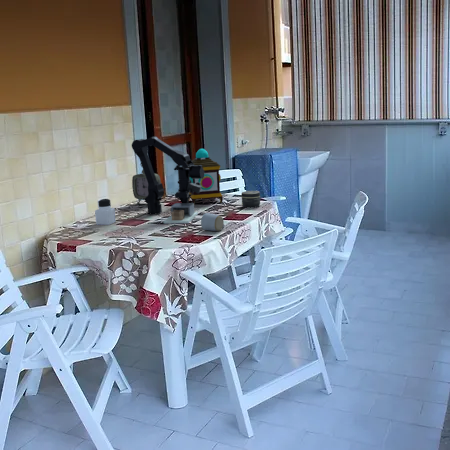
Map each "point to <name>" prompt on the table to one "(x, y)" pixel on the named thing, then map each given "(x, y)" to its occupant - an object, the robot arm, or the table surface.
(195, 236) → the table surface
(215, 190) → the decorative lantern
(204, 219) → the ceramic mug
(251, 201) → the jar
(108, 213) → the medicine bottle
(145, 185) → the tabletop clock
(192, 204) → the cover
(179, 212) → the block
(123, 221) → the table surface
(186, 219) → the board
